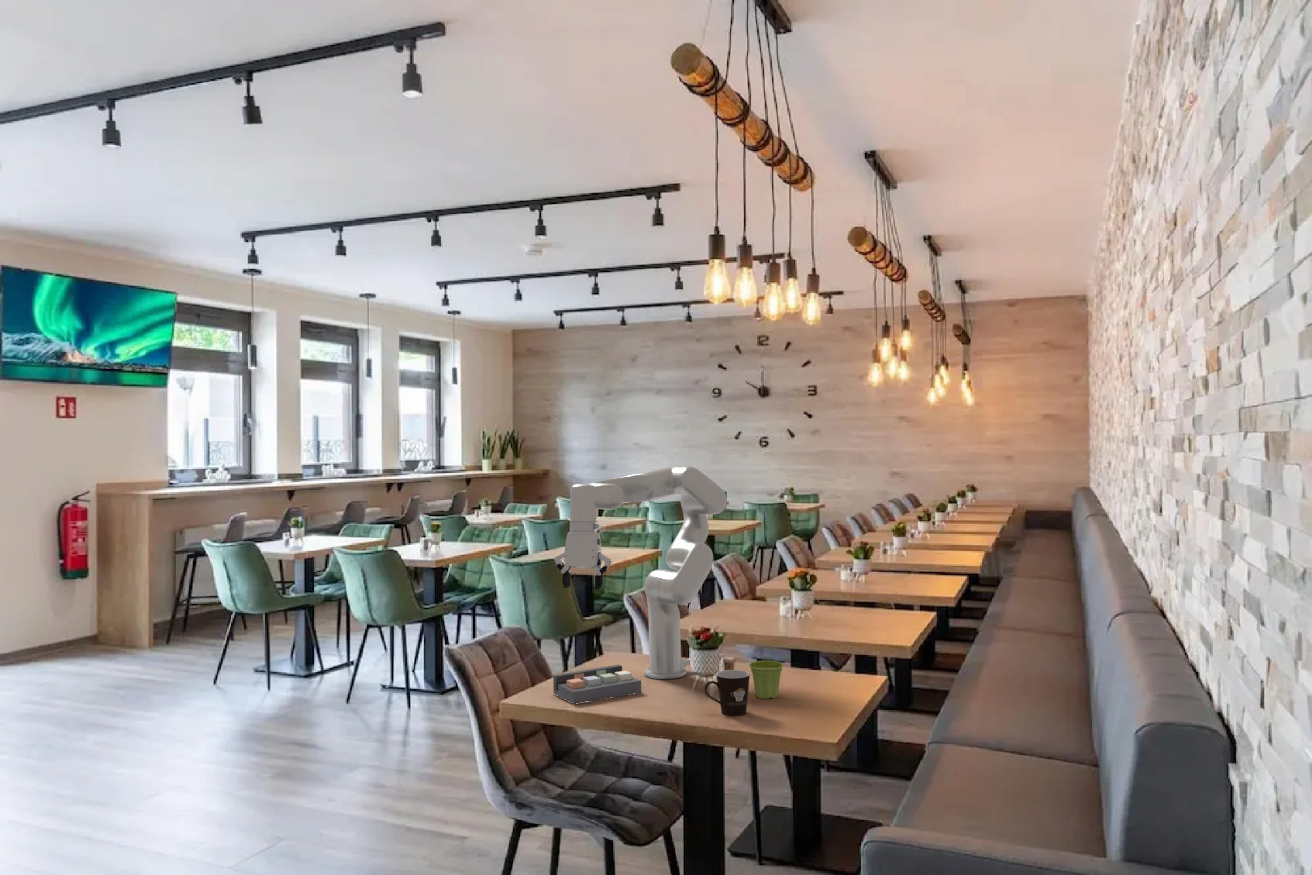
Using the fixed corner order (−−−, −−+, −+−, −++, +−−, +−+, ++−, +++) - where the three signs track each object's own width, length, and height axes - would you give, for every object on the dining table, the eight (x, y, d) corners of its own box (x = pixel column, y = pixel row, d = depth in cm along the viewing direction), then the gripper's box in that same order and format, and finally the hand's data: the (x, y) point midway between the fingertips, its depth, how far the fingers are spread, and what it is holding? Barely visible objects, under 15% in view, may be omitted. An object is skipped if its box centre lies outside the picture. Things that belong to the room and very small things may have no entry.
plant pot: (788, 693, 262) (787, 662, 262) (778, 702, 253) (777, 669, 253) (756, 690, 266) (755, 659, 266) (745, 698, 257) (744, 666, 257)
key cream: (625, 678, 271) (625, 670, 271) (631, 681, 268) (631, 673, 268) (614, 680, 269) (614, 672, 269) (620, 683, 266) (620, 674, 266)
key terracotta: (578, 686, 263) (578, 678, 263) (584, 689, 260) (584, 680, 260) (566, 688, 261) (566, 680, 261) (572, 691, 258) (572, 682, 258)
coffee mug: (750, 708, 248) (749, 670, 248) (750, 717, 239) (749, 678, 239) (706, 707, 249) (705, 669, 249) (704, 717, 240) (703, 678, 241)
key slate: (594, 684, 266) (594, 675, 266) (600, 686, 263) (600, 678, 263) (583, 686, 264) (582, 677, 264) (588, 688, 261) (588, 680, 261)
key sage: (610, 681, 268) (610, 673, 268) (616, 684, 265) (616, 675, 265) (599, 683, 266) (598, 674, 266) (605, 686, 263) (604, 677, 263)
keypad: (619, 683, 277) (618, 664, 277) (641, 692, 266) (641, 673, 266) (553, 694, 266) (553, 674, 266) (573, 704, 255) (573, 684, 255)
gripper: (616, 528, 269) (615, 588, 269) (561, 526, 275) (560, 585, 274) (606, 529, 262) (605, 591, 262) (549, 527, 268) (548, 588, 267)
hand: (582, 588), depth 268 cm, fingers open, 9 cm apart
